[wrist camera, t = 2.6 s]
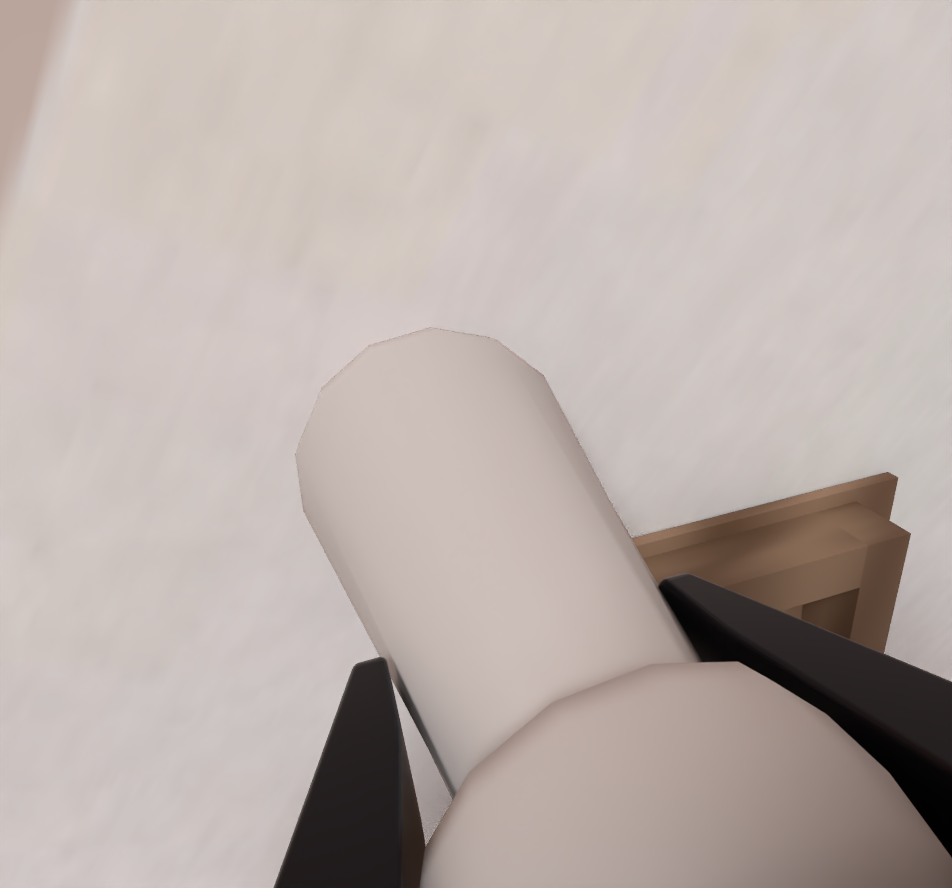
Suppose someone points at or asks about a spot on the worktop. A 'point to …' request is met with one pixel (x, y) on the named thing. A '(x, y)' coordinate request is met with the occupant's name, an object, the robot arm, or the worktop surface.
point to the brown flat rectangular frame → (800, 556)
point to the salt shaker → (569, 655)
